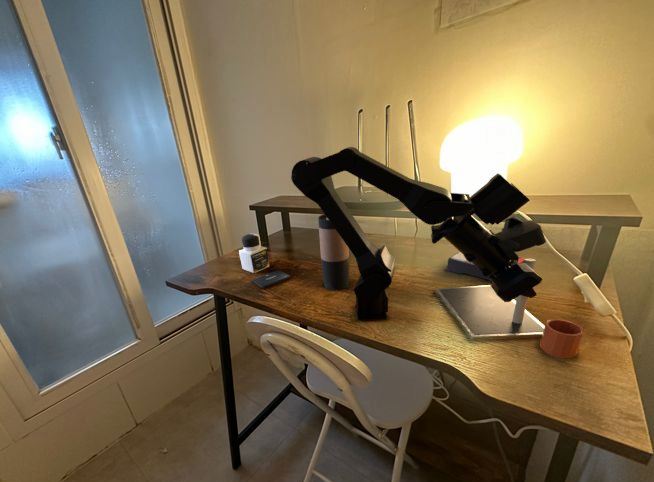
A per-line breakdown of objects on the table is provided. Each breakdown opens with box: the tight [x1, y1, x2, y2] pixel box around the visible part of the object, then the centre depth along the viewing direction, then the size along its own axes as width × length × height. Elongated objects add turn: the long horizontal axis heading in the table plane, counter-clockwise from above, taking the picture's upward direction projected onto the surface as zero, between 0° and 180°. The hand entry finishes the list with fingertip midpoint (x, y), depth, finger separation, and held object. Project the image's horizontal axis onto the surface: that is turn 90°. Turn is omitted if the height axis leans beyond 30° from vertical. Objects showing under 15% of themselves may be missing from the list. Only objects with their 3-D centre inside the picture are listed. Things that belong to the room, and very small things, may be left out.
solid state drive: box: [252, 269, 291, 289], centre depth 95 cm, size 7×10×1 cm
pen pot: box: [539, 318, 586, 359], centre depth 52 cm, size 5×5×5 cm
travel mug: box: [317, 213, 350, 291], centre depth 83 cm, size 8×8×20 cm
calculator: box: [446, 251, 526, 282], centre depth 82 cm, size 11×4×15 cm
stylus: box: [512, 257, 537, 324], centre depth 58 cm, size 2×2×13 cm
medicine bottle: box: [238, 233, 270, 274], centre depth 104 cm, size 7×7×12 cm
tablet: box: [434, 284, 545, 341], centre depth 66 cm, size 14×20×1 cm
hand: (531, 293), depth 57 cm, fingers closed on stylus, 1 cm apart
